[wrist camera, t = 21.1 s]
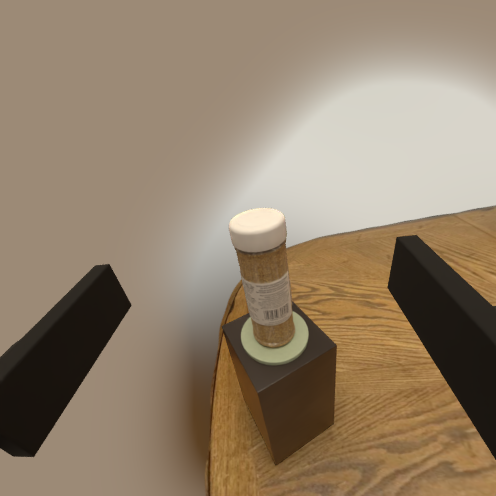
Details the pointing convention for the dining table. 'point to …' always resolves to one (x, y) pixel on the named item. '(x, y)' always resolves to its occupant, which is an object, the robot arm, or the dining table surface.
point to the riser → (287, 389)
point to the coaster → (279, 353)
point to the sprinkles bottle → (265, 273)
